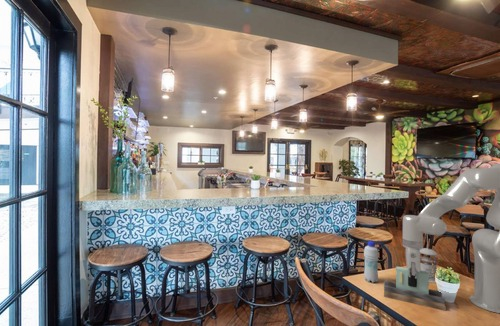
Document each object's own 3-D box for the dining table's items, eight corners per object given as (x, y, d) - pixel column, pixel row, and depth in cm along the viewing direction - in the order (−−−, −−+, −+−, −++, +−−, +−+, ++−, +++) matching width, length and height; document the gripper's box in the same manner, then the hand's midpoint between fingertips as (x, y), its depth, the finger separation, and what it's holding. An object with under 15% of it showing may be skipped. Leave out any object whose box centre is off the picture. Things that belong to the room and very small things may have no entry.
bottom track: (440, 296, 112) (440, 289, 112) (445, 310, 102) (445, 302, 102) (384, 285, 123) (384, 278, 123) (384, 296, 112) (384, 288, 112)
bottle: (375, 278, 130) (375, 239, 130) (380, 284, 124) (380, 243, 124) (361, 277, 131) (361, 239, 131) (366, 283, 124) (366, 243, 124)
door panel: (427, 292, 111) (427, 271, 111) (428, 295, 108) (428, 274, 107) (396, 285, 116) (396, 266, 116) (396, 289, 113) (396, 269, 113)
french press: (411, 275, 134) (411, 228, 134) (427, 272, 137) (427, 226, 137) (429, 283, 124) (429, 233, 124) (446, 280, 128) (446, 231, 128)
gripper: (424, 250, 103) (424, 295, 103) (420, 239, 118) (420, 279, 118) (403, 247, 107) (403, 290, 107) (401, 237, 121) (401, 275, 121)
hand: (412, 284), depth 112 cm, fingers closed on door panel, 3 cm apart
